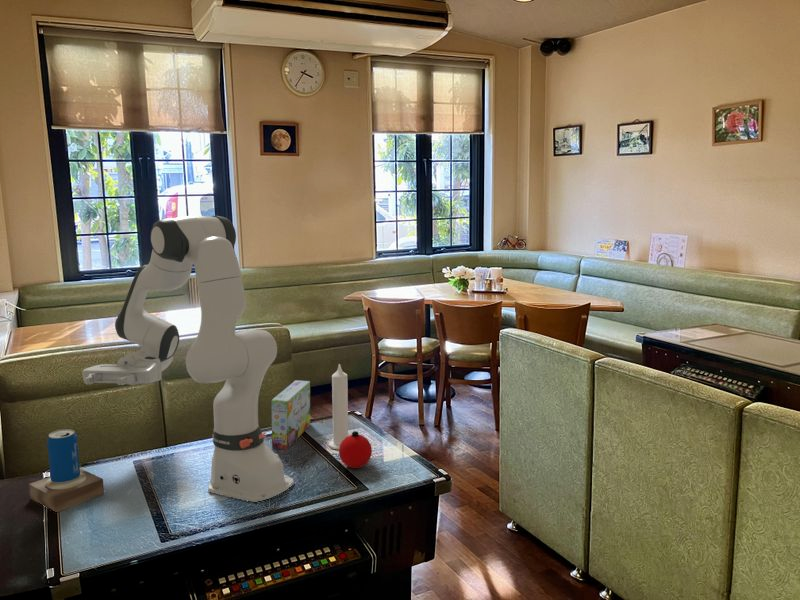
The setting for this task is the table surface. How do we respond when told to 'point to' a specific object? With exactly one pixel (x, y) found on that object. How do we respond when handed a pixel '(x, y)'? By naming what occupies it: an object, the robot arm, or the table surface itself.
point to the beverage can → (63, 456)
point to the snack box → (290, 414)
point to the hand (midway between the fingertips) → (103, 381)
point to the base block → (66, 491)
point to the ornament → (355, 450)
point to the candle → (339, 408)
